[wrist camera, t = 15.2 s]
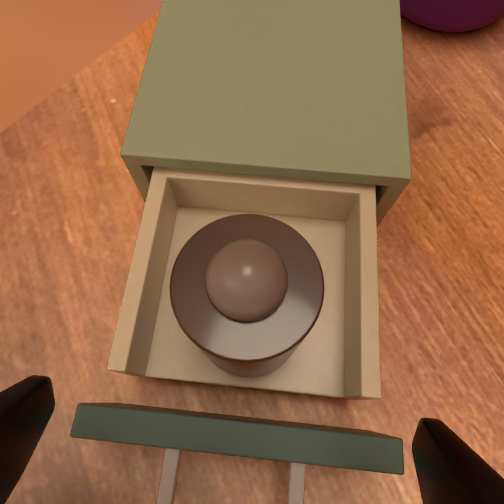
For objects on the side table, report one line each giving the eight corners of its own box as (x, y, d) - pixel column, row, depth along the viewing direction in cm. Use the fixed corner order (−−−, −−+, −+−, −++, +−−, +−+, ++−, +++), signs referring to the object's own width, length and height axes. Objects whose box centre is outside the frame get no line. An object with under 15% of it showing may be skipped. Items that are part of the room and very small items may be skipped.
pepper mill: (281, 393, 17) (305, 385, 9) (182, 356, 18) (126, 319, 10) (311, 295, 19) (353, 218, 11) (220, 264, 20) (198, 170, 12)
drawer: (371, 561, 16) (411, 614, 12) (88, 526, 16) (35, 566, 12) (366, 219, 22) (391, 179, 18) (159, 201, 23) (139, 158, 19)
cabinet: (372, 234, 23) (412, 178, 17) (151, 214, 23) (119, 154, 18) (369, 68, 28) (398, -17, 22) (187, 55, 28) (171, -32, 23)
